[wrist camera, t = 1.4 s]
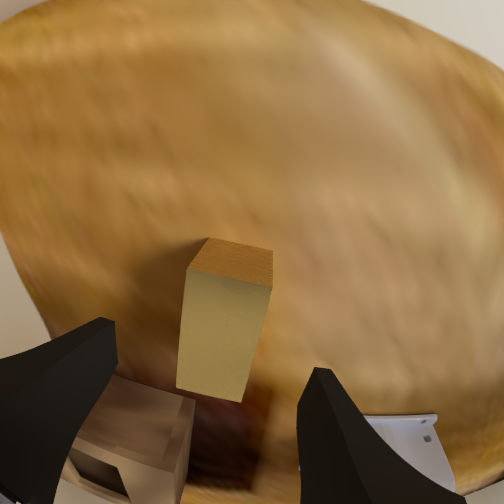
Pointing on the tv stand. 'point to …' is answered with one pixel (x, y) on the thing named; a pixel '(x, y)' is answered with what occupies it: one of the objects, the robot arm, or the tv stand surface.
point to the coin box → (133, 445)
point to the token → (222, 317)
